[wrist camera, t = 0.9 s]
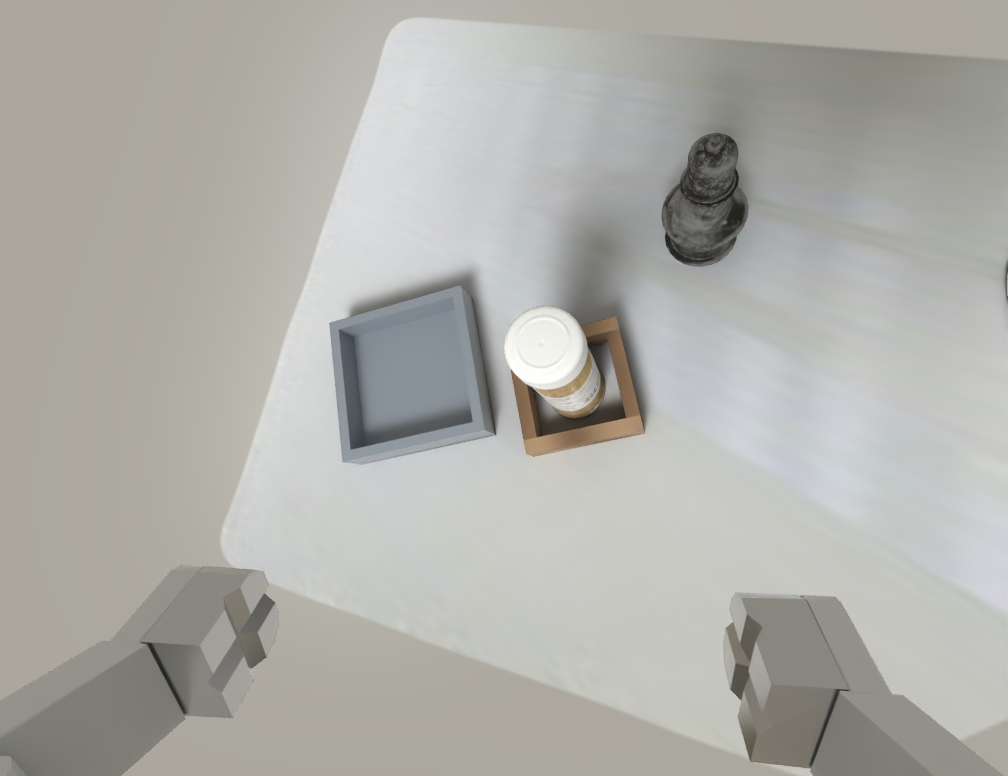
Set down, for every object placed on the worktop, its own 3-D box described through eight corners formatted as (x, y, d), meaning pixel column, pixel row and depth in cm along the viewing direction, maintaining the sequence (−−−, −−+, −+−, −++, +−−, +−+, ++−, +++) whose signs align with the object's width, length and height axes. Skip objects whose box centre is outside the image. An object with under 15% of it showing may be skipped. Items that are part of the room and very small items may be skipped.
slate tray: (472, 298, 47) (460, 285, 44) (495, 434, 44) (484, 430, 41) (348, 333, 49) (329, 322, 46) (361, 464, 46) (342, 461, 43)
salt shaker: (652, 215, 44) (650, 114, 33) (726, 189, 43) (751, 75, 31) (674, 280, 42) (680, 197, 31) (751, 255, 41) (787, 160, 30)
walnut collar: (618, 326, 43) (616, 316, 40) (644, 433, 41) (643, 428, 38) (514, 353, 45) (506, 344, 42) (533, 456, 42) (526, 453, 40)
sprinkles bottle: (573, 352, 43) (539, 287, 31) (618, 387, 42) (601, 335, 29) (535, 395, 43) (485, 349, 31) (579, 432, 42) (545, 400, 29)
